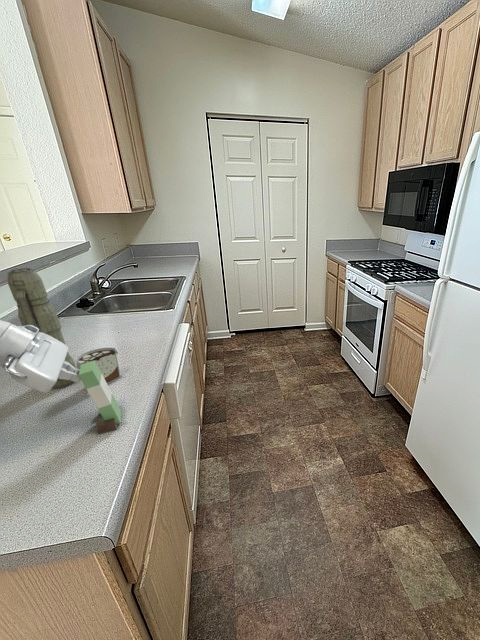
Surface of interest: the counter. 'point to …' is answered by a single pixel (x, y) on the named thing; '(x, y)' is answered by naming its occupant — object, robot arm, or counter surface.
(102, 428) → the stand
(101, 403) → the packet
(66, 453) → the counter surface
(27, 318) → the moai statue
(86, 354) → the cake slice
